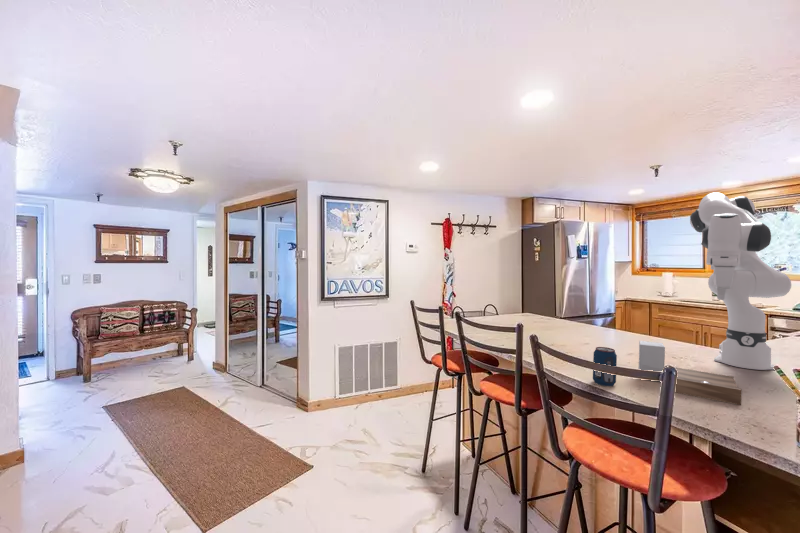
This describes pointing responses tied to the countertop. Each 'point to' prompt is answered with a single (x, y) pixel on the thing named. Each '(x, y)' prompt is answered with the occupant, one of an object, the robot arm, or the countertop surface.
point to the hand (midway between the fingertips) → (720, 299)
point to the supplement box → (651, 356)
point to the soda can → (608, 358)
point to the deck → (708, 386)
